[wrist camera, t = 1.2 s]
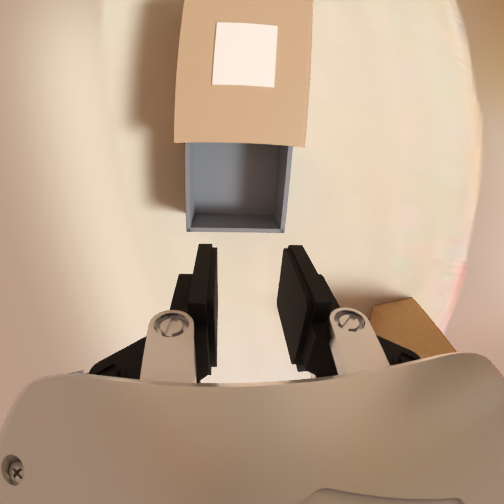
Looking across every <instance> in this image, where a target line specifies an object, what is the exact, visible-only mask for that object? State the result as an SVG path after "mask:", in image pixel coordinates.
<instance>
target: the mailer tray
mask: <svg viewBox="0 0 504 504" xmlns="http://www.w3.org/2000/svg"><path fill="white" fill-rule="evenodd" d="M292 149H293V146H284V145H271V144H254V143H224V142H191V143H185V200H186V229H187V232H260V233H284V230H285V221H286V212H287V202H288V192H289V182H290V171H291V160H292Z"/></svg>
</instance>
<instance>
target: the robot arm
mask: <svg viewBox="0 0 504 504" xmlns="http://www.w3.org/2000/svg"><path fill="white" fill-rule="evenodd" d="M277 308H278V312H279V316H280V320H281V324H282V328H283V332H284V336H285V340H286V343H287V347H288V351H289V355H290V359H291V363H292V364H296V366H297V370H298V372H302V371H308V372H310V373H311V379H302V380H291V381H278V382H260V383H201V380H202V379H203V378H204V377H206V376H207V375H211V367H217V319H218V284H217V248H212V244H199V246H198V251H197V256H196V261H195V266H194V271H193V274H179V276H178V280H177V284H176V288H175V291H174V295H173V299H172V303H171V307H170V310H167V311H163V312H160V313H158V314H157V315H155V316H154V317H153V318H152V319H151V321H150V323H149V327H148V332H147V336H146V337H144V338H142V339H140V340H138V341H137V342H135V343H133V344H131V345H130V346H127V347H126V348H124V349H122V350H120V351H118V352H116V353H114V354H113V355H111V356H109V357H107V358H105V359H103V360H101V361H99V362H98V363H96V364H95V365H94V366H93V367H92V368H91V370H90V372H89V373H84V371H83V370H82V371H77V372H72V373H68V374H58V375H51V376H45V377H41V378H38V379H35V380H33V381H31V382H30V383H28V384H27V385H26V386H25V387H24V388H23V389H22V390H21V392H20V393H19V394H18V396H17V398H16V399H15V401H14V403H13V405H12V406H11V408H10V410H9V412H8V415H7V417H6V419H5V421H4V424H3V426H2V429H1V432H0V504H504V377H503V376H502V374H501V373H500V372H499V371H498V369H497V368H496V367H495V366H494V365H493V364H492V363H491V361H490V360H488V359H487V358H486V357H484V356H482V355H479V354H475V353H466V352H454V353H447V354H440V355H436V356H432V357H427V358H425V357H423V358H422V359H421V358H420V356H418V355H417V354H416V353H415V352H413V351H411V350H409V349H407V348H405V347H402V346H400V345H398V344H396V343H393V342H391V341H389V340H387V339H385V338H382V337H380V336H378V335H376V334H375V332H374V330H373V328H372V326H371V324H370V322H369V320H368V318H367V317H366V316H365V315H364V314H363V313H362V312H360V311H358V310H356V309H352V308H346V307H343V308H340V306H339V304H338V303H337V301H336V299H335V297H334V295H333V293H332V292H331V290H330V288H329V286H328V284H327V283H326V281H325V279H324V277H323V276H322V275H321V274H318V273H317V271H316V269H315V268H314V266H313V264H312V262H311V260H310V258H309V257H308V255H307V253H306V251H305V249H304V248H303V246H302V245H289V246H288V248H284V250H283V257H282V266H281V274H280V281H279V289H278V297H277Z"/></svg>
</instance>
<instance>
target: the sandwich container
mask: <svg viewBox="0 0 504 504" xmlns="http://www.w3.org/2000/svg"><path fill="white" fill-rule="evenodd" d="M369 322H370V324H371V326H372V328H373V330H374V332H375V334H376V335H378V336H380V337H382V338H385V339H387V340H389V341H391V342H393V343H396V344H398V345H400V346H402V347H405V348H407V349H409V350H411V351H413V352H415V353H416V354H417V355H418V356H420V358H421V359H422V358H423V357H425V358H427V357H432V356H436V355H440V354H447V353H454V352H456V350H455V349H454V348H453V347H452V345H451V344H450V342H449V341H448V340H447V338H446V337H445V336H444V335H443V333H442V332H441V331H440V330H439V328H438V327H437V326H436V325H435V323H434V322H433V321H432V320H431V318H430V317H429V316H428V315H427V314H426V312H425V311H424V310H423V309H422V308H421V307H420V305H419V304H418V303H417V302H416V301H415V300H414V299H413V298H408V299H404V300H399V301H395V302H390V303H386V304H381V305H377V306H373V308H372V312H371V316H370V319H369Z"/></svg>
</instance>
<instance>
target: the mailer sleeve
mask: <svg viewBox="0 0 504 504" xmlns="http://www.w3.org/2000/svg"><path fill="white" fill-rule="evenodd" d="M312 16H313V0H184V7H183V14H182V21H181V30H180V39H179V49H178V60H177V73H176V89H175V112H174V143H191V142H224V143H254V144H271V145H284V146H296V147H305V139H306V128H307V115H308V101H309V86H310V69H311V48H312Z"/></svg>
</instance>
